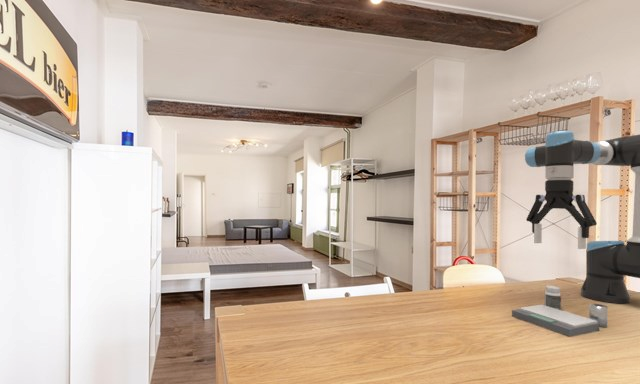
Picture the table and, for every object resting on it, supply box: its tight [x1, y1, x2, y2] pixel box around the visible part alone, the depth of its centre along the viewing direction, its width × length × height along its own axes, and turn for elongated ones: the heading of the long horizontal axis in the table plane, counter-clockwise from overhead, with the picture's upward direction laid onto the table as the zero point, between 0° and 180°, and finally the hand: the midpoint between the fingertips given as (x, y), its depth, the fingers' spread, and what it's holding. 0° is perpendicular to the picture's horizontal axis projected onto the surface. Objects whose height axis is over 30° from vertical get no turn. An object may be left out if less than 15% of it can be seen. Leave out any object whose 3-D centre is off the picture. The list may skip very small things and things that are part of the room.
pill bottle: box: [544, 285, 562, 310], centre depth 121 cm, size 5×5×8 cm
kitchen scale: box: [511, 304, 600, 338], centre depth 109 cm, size 14×18×3 cm
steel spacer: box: [588, 303, 608, 328], centre depth 108 cm, size 4×4×6 cm
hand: (558, 245), depth 112 cm, fingers open, 13 cm apart
